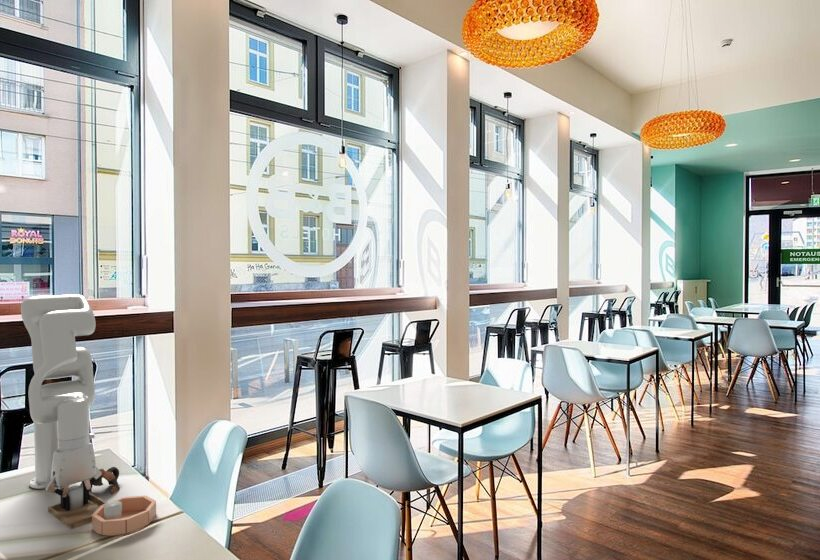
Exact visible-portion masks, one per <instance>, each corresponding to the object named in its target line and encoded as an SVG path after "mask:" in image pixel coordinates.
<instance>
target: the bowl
mask: <svg viewBox="0 0 820 560" xmlns="http://www.w3.org/2000/svg"><path fill="white" fill-rule="evenodd" d="M113 501H120V502H122V518H121V519H108V520H105V519H104V505H105V504H103V505H101V506H100V507H99V508H98V509H97V510H96V511H95V512H94V513H93V514H92V522H91V527H92V528H91V529H92V530H93V531H95V533H96V534H99V535H101V536H120V535H123V537H125V536H129V535H132V534H135V533H137V532H138V533H139V532H140V531H142V530H145V529H146V528H148V527H149V526H150V523H151V522H153V520H154V518H155V516H156V515H157V500H155V499H153V498H151V497H150V496H148V495H135V496H134V495H132V496H123V497H120V498H117V499H115V500H112V501H109V502H113ZM109 502H107V503H109ZM107 503H106V504H107Z"/></svg>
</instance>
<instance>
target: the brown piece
mask: <svg viewBox="0 0 820 560" xmlns="http://www.w3.org/2000/svg"><path fill="white" fill-rule="evenodd" d="M98 469H99V470H100V471H101V472H102V475H101V476H100V477H99V478H97V479H96V480H95V482H94V483H93V484H92V486H91V488H90V489H89V493H92V489H93V486H94V487H101V486H103V485H104V483H103V479H104V480H105V481H107V483H108V486H112V487H111V489H110V490H109V491H110V492H111V494H112V495H114V494H116V493H117V492H119V491H120V489H121V488H120V485H119V483H118V479H119V476H120V470H119V468H118V467H116V466H112V467H110V468H108V469H106V470H105V469H104V468H98ZM80 485H82V482H80Z"/></svg>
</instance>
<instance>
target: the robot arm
mask: <svg viewBox="0 0 820 560" xmlns="http://www.w3.org/2000/svg"><path fill="white" fill-rule="evenodd" d="M20 314H21V318H22V319H21V320H22V321H23V324H24V327H25V329H26V330H27V332H28V334H29V337H30V341H31V355H32V366H33V367H32V369H33V372H34V375H33V376H32V378H31V380H30V383H29V385H28V393H27V394H28V405H29V414H30V417H31V419H32V421H33V431H34V432H33V433H34V434H33V435H34V436H33V437H34V466H35V467H34V471H35V472H34V473H35V474H34V475H35V476H34V477H33V478H32V479H30V480H29V487H31V488H32V489H40V490H41V489H42V490H43V489H45V490H46V491H47V492H49V493H53V494H56V495H58V496H59V497H60V503H61V507H62V508H63V509H65V510H66V511H68V510H69V509H70V497H69V496H68V494H67V493H68V488H70V486H71V485H75V484H77V483H82V486H83V496H84V504H88V499H89V494H90V492H89V489H90V488H91V486H92V487H93V485H92V484H93V483H94V482H95V480H96V479H97V478H99V477H100V476H101V475H102V472H101V471H100V470H99V469H100V468H98V467H97V464H96V456H95V452H94V451H95V449H94V446H93V443H91V440H92V439H95V437H96V436H95V433H90V410H89V409H90V406H92V405H93V404H94V402H95V399H96V398H95V397H96V390H95V379H94V378H95V377H94V368H93V366H94V365H93V359H92V358H93V357H92V356H91V352H90V351H89V349H87V348H86V347H83V346H77V344H76V337H82V336H90V335H92V334H93V333H95V330H96V327H97V326H96V318H95V314H94V311H93V309H92V307H91V305H90V304H89V302H88V300H87V299H86V298H85V296H83V295H81V294H61V295H60V294H59V295H57V294H54V295H53V294H50V295H35V296H31V297H28V298H25V299H24V300H23V301H22V302H21V305H20ZM68 377H69V378H71V377H75V379H74V380H73V379H72V380H67V381H58V382H52V383H51V382H50V383H46V384H43V382H44V381H45V380H52V379H55V380H56V379H61V378H68Z"/></svg>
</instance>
